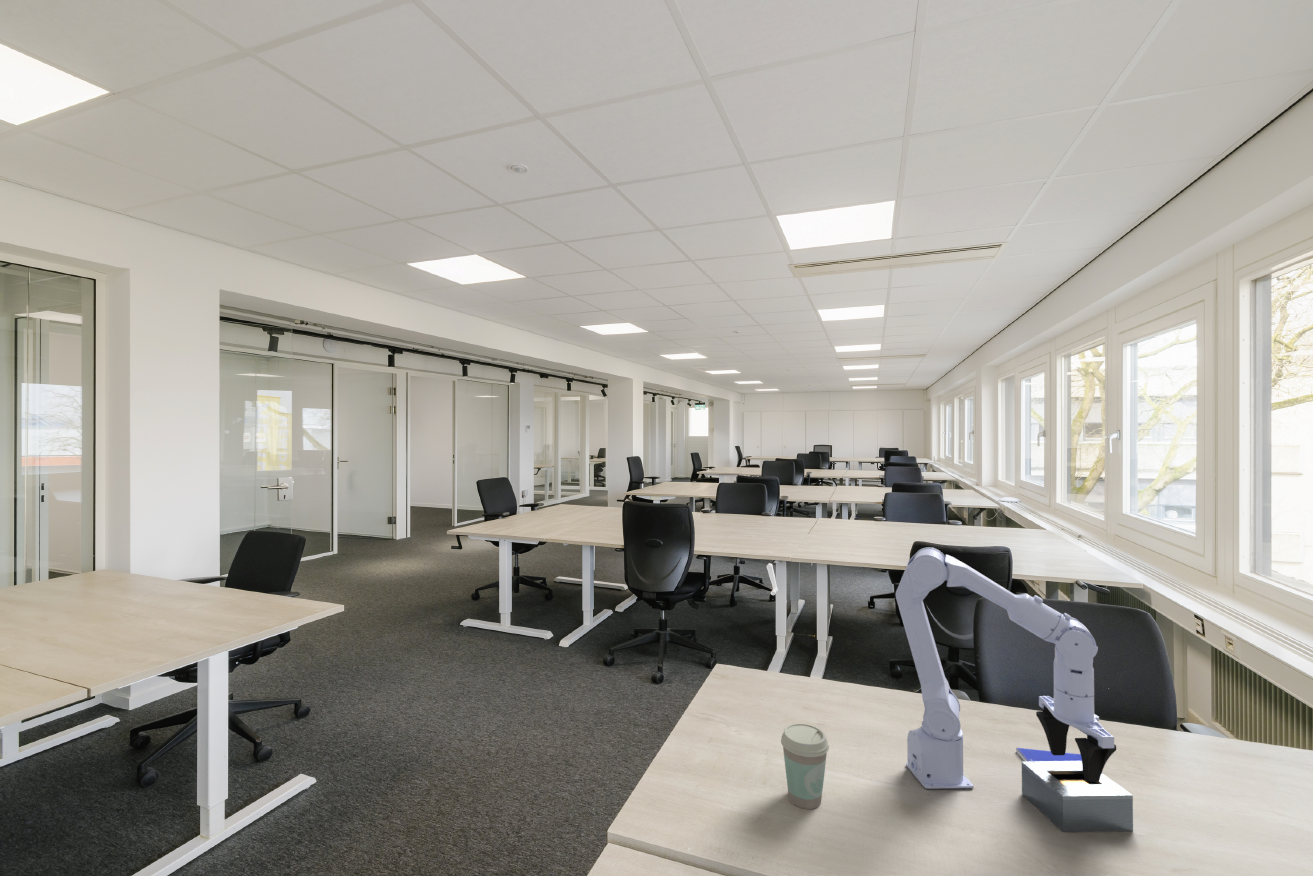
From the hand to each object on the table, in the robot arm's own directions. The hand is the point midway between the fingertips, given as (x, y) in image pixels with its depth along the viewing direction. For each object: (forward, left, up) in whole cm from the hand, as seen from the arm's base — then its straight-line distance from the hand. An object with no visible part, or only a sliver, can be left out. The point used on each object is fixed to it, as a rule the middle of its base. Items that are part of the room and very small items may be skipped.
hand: (1074, 766), depth 96 cm
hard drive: (+8, +14, -9) cm, 18 cm away
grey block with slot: (0, 0, -8) cm, 8 cm away
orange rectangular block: (0, 0, -8) cm, 8 cm away
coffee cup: (-47, +4, -8) cm, 48 cm away
